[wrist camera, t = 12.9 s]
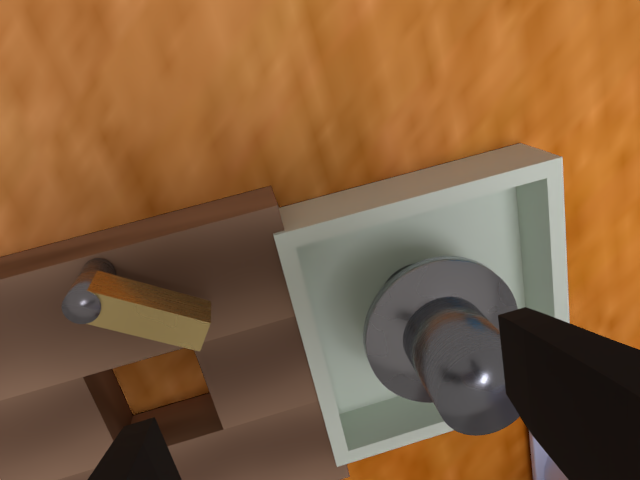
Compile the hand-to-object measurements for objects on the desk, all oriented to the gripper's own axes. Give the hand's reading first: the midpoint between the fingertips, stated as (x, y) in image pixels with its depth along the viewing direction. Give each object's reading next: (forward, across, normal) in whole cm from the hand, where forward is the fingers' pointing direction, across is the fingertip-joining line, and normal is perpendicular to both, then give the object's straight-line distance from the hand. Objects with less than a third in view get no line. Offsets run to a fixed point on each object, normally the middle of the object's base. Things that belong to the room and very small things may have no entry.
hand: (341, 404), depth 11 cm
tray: (+10, -5, +4) cm, 12 cm away
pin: (+10, -4, +4) cm, 11 cm away
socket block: (+10, +6, +4) cm, 12 cm away
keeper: (+8, +5, -1) cm, 9 cm away
